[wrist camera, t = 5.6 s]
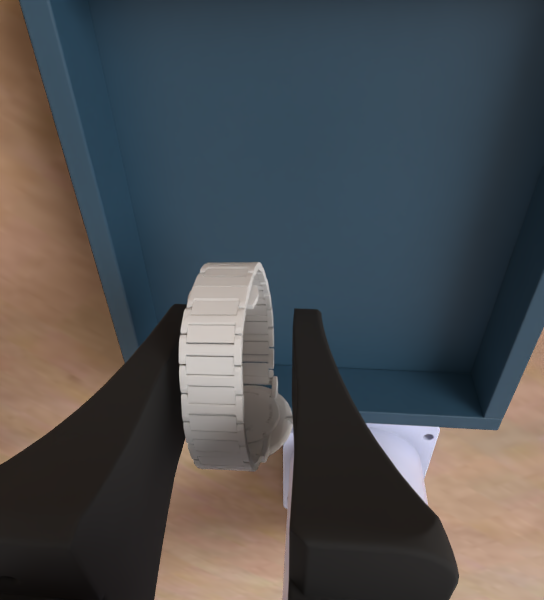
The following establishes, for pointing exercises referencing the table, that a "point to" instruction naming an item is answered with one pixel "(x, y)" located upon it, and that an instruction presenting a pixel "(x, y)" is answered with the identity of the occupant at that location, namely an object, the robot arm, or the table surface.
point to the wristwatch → (230, 370)
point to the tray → (319, 177)
